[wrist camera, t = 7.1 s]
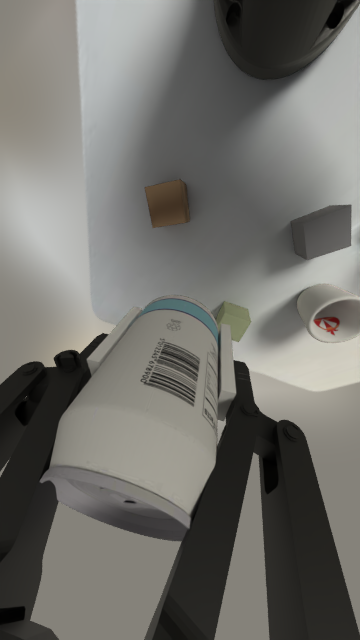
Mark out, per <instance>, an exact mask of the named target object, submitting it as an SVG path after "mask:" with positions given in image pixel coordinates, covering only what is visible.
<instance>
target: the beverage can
mask: <svg viewBox="0 0 360 640" xmlns="http://www.w3.org/2000/svg"><path fill="white" fill-rule="evenodd" d="M218 338H219V332H218V325H217V322H216V320H215V318H214V316H213V315H212V313H211V312H210V311H209V310H208V309H207V308H206V307H205V306H204V305H202V304H201V303H199V302H198V301H196V300H194V299H191V298H188V297H185V296H179V295H168V296H163V297H160V298H157V299H155V300H153V301H152V302H150V303H149V304H148V305H147V306H146V307H145V309H144V310H143V311H142V312H141V314H140V315H139V316H138V318H137V319H136V320H135V322H134V323H133V324H132V325H131V327H130V328H129V329H128V331H127V332H126V333H125V335H124V336H123V337H122V338H121V340H120V341H119V342H118V344H117V345H116V346H115V347H114V349H113V350H112V351H111V353H110V354H109V355H108V357H107V358H106V359H105V360H104V362H103V363H102V364H101V366H100V367H99V368H98V370H97V371H96V372H95V373H94V375H93V376H92V377H91V379H90V380H89V381H88V383H87V384H86V385H85V386H84V388H83V389H82V390H81V392H80V393H79V394H78V395H77V397H76V398H75V399H74V401H73V402H72V403H71V405H70V406H69V407H68V408H67V410H66V411H65V412H64V414H63V415H62V417H61V419H60V421H59V424H58V429H57V434H56V439H55V443H54V448H53V453H52V457H51V462H50V467H49V470H47V471H46V472H45V473H44V475H43V476H42V478H41V479H40V482H41V483H43V482H45V481H48V480H50V481H51V482H52V483H53V484H54V485H55V488H56V493H57V500H58V501H59V502H61V503H63V504H64V505H66V506H68V507H70V508H72V509H74V510H76V511H78V512H80V513H82V514H84V515H87V516H89V517H92V518H94V519H96V520H99V521H101V522H104V523H106V524H109V525H112V526H115V527H118V528H120V529H124V530H127V531H130V532H133V533H137V534H140V535H144V536H148V537H153V538H157V539H163V540H170V541H182V540H183V538H184V536H185V534H186V532H187V529H188V530H190V528H191V525H192V522H193V517H194V515H195V512H196V510H197V507H198V505H199V502H200V499H201V497H202V494H203V492H204V489H205V487H206V484H207V481H208V479H209V476H210V474H211V472H212V470H213V469H214V466H215V463H216V456H217V415H218Z"/></svg>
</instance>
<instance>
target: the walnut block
mask: <svg viewBox="0 0 360 640" xmlns="http://www.w3.org/2000/svg"><path fill="white" fill-rule="evenodd" d="M145 191H146V196H147V201H148V206H149V211H150V216H151V221H152V226H153V228H155V227H162V226H168V225H174V224H180V223H186V222H188V221H190V217H189V207H188V198H187V188H186V184H185V183H184V182H183V181H182V180H175V181H171V182H166V183H162V184H157V185H153V186H148V187H145Z"/></svg>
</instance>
